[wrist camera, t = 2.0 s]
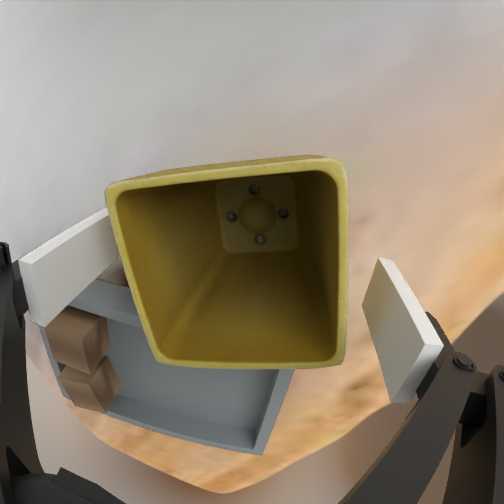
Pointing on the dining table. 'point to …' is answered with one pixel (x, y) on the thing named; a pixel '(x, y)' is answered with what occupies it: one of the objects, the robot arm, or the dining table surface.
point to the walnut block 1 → (78, 338)
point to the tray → (180, 383)
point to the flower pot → (238, 261)
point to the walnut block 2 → (92, 386)
